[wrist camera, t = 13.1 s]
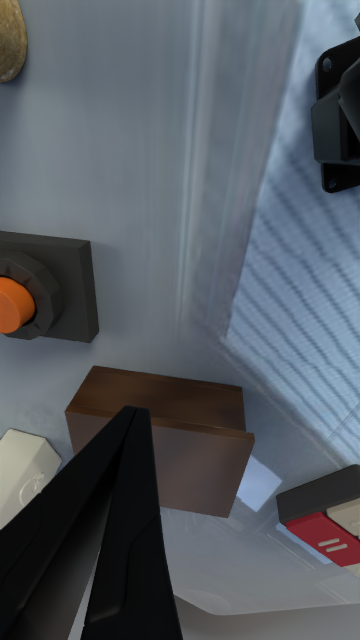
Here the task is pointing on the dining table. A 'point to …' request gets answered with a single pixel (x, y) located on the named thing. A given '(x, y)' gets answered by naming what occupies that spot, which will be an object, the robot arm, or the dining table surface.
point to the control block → (52, 285)
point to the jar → (23, 471)
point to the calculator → (327, 516)
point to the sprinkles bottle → (11, 40)
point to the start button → (14, 305)
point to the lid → (182, 459)
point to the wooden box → (163, 397)
